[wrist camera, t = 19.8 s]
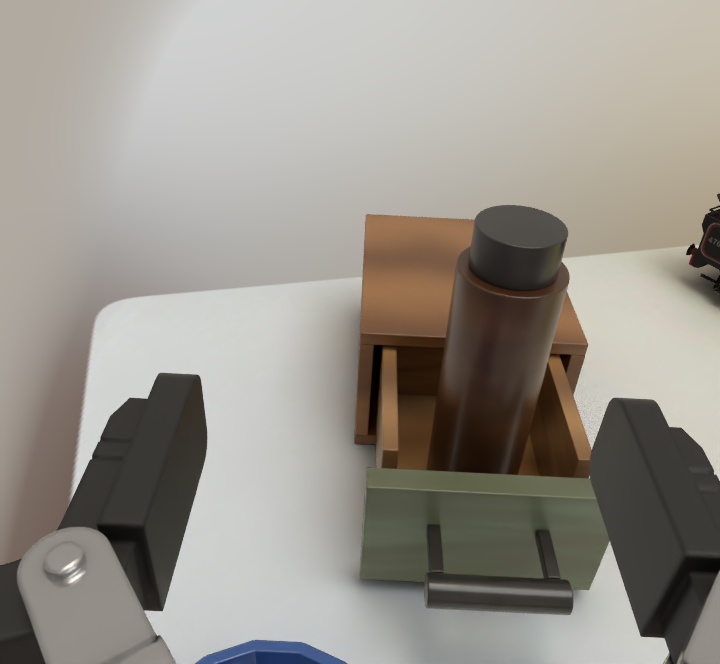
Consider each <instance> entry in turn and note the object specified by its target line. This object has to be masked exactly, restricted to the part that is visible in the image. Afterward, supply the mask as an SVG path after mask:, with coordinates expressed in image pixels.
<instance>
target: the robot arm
mask: <svg viewBox="0 0 720 664" xmlns="http://www.w3.org/2000/svg"><path fill="white" fill-rule="evenodd" d="M100 438H101V440H100V442H98V444H97V446H96V448H95V450H94V453H93V455H92V460H90V461H89V463H88V466H87V468H86V470H85V472H84V474H83V476H82V479H81V481H80V483H79V485H78V487H77V489H76V492H75V494H74V496H73V498H72V500H71V502H70V505H69V507H68V509H67V511H66V514H65V516H64V518H63V520H62V522H61V524H60V526H59V527H58V529H57V531H55V532H52V533H50V534H49V535H47V536H45V537H43V538H42V539H40V540H39V541H37V542H36V543H35V544H34V545H33V546H32V547H31V548H30V549H29V550H28V551H27V552H26V554H25V555H24V557H23V558H22V559H19V560H17V561H14V562H11V563H8V564H5V565H0V664H176V662H175V660H174V658H173V657H172V655H171V653H170V651H169V649H168V647H167V645H166V643H165V642H164V640H163V639H162V637H161V636H160V635H159V636H157V635H156V634H155V632H154V630H153V628H152V626H151V624H150V622H149V620H148V618H147V616H146V614H145V612H144V610H149V611H163V609H164V605H165V601H166V598H167V594H168V591H169V587H170V583H171V580H172V576H173V573H174V569H175V566H176V562H177V558H178V555H179V551H180V548H181V544H182V541H183V537H184V533H185V530H186V526H187V523H188V519H189V515H190V512H191V508H192V505H193V501H194V498H195V494H196V490H197V487H198V483H199V480H200V476H201V473H202V469H203V465H204V461H205V457H206V449H207V426H206V418H205V410H204V401H203V393H202V385H201V379H200V377H199V375H192V374H173V373H159V374H158V376H157V378H156V380H155V382H154V385H153V387H152V389H151V392H150V394H149V397H148V399H141V398H129V399H128V400H127V401H126V402H125V403H124V404H123V405H122V406H121V407H120V408H119V409H118V410H116V411H115V412H114V413H113V414H112V415H111V416H110V418H109V420H108V422H107V424H106V427H105V429H104V431H103V433H102V435H101V437H100ZM589 470H590V479H591V484H592V487H593V490H594V493H595V496H596V499H597V502H598V505H599V509H600V512H601V515H602V518H603V521H604V524H605V527H606V530H607V533H608V536H609V539H610V542H611V546H612V549H613V552H614V555H615V558H616V561H617V564H618V567H619V570H620V573H621V576H622V579H623V583H624V586H625V589H626V592H627V595H628V598H629V601H630V604H631V607H632V610H633V613H634V616H635V620H636V623H637V626H638V629H639V632H640V635H641V637H659V638H665V641H666V644H667V646H668V649H669V654H668V656H667V657H666V659H665V661H664V663H663V664H720V481H719V479H718V477H717V475H714V470H713V468H712V466H711V464H710V462H709V460H708V458H707V456H706V454H705V452H704V451H703V449H702V447H701V446H700V445H698V444H697V443H696V442H695V441H694V440H693V439H692V438H691V437H690V436H689V435H688V434H687V433H686V432H685V431H684V430H683V429H682V428H676V427H669V426H668V424H667V422H666V420H665V418H664V416H663V414H662V411H661V409H660V407H659V406H658V404H657V403H656V402H655V401H654V400H648V399H629V398H613V399H612V400H611V401H610V402H609V404H608V407H607V409H606V412H605V415H604V418H603V421H602V423H601V426H600V429H599V432H598V434H597V437H596V440H595V443H594V446H593V448H592V451H591V455H590V464H589Z"/></svg>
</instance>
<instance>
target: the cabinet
mask: <svg viewBox="0 0 720 664" xmlns="http://www.w3.org/2000/svg"><path fill="white" fill-rule="evenodd" d="M474 222H475V220H468V219H448V218H427V217H409V216H390V215H389V216H388V215H370V214H367V215H366V222H365V241H364V262H363V280H362V299H361V319H360V339H359V359H358V380H357V400H356V420H355V441H354V443H356V444H376V414H377V384H378V371H379V358H380V345H393V346H412V347H432V348H444V344H445V337H446V330H447V323H448V316H449V309H450V302H451V296H452V289H453V282H454V275H455V268H456V262H457V258H458V256H459V254H460V253H461V252H462V251H463V250H465V249H466V248H468V247H469V246H471V241H472V235H473V228H474ZM587 347H588V343H587V340H586V338H585V335H584V333H583V330H582V328H581V325H580V323H579V320H578V318H577V315H576V313H575V311H574V308H573V306H572V303H571V301H570V298H569V296H568V293H567V291H566V295H565V299H564V302H563V306H562V310H561V314H560V318H559V321H558V325H557V329H556V333H555V337H554V340H553V344H552V348H551V352H550V354H559V356H560V359H561V362H562V365H563V367H564V370H565V373H566V376H567V379H568V382H569V385H570V388H571V391H572V394H574V391H575V388H576V384H577V381H578V378H579V374H580V371H581V368H582V365H583V361H584V358H585V354H586V350H587Z"/></svg>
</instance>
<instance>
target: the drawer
mask: <svg viewBox="0 0 720 664" xmlns="http://www.w3.org/2000/svg"><path fill="white" fill-rule="evenodd" d="M443 351H444V348H432V347H412V346H393V345H380V358H379V371H378V384H377V414H376V468H369V467H368V468H367V473H366V487H365V501H364V516H363V530H362V545H361V559H360V579H375V580H395V581H415V582H425V584H424V599H425V606H426V608H434V609H454V610H474V611H494V612H514V613H534V614H554V615H570V614H571V612H572V609H573V592H572V589H574V590H589V589H590V586H591V584H592V582H593V579H594V577H595V574H596V572H597V570H598V567H599V565H600V562H601V560H602V558H603V555H604V553H605V550H606V548H607V546H608V543H609V541H610V539H609V536H608V533H607V530H606V527H605V524H604V521H603V518H602V515H601V512H600V509H599V505H598V502H597V499H596V496H595V493H594V490H593V487H592V484H591V479H588V478H589V476H590V470H589V464H590V455H591V451H592V450H591V447H590V444H589V441H588V438H587V435H586V432H585V429H584V427H583V424H582V421H581V418H580V415H579V412H578V409H577V406H576V403H575V400H574V397H573V394H572V391H571V388H570V385H569V382H568V379H567V376H566V373H565V370H564V367H563V365H562V362H561V359H560V356H559V354H550V356H549V359H548V363H547V367H546V371H545V374H544V378H543V382H542V386H541V390H540V393H539V397H538V401H537V405H536V409H535V412H534V416H533V420H532V424H531V428H530V431H529V435H528V439H527V443H526V446H525V450H524V454H523V458H522V462H521V465H520V469H519V473H518V475H508V474H488V473H468V472H448V471H429V470H426V468H427V461H428V454H429V447H430V440H431V433H432V426H433V419H434V413H435V406H436V399H437V392H438V385H439V378H440V371H441V364H442V358H443Z"/></svg>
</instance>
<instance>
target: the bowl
mask: <svg viewBox="0 0 720 664" xmlns="http://www.w3.org/2000/svg"><path fill="white" fill-rule="evenodd" d="M195 664H346V662H344V661H342V660H340V659H337V658H335V657H333V656H331V655H329V654H327V653H325V652H322V651H320V650H318V649H316V648H314V647H312V646H310V645H307V644H305V643H302V642H287V641H267V640H255V641H254V640H252V641H249V642H246V643H243V644H240V645H237V646H234V647H231V648H228V649H225V650H222V651H219V652H216V653H213V654H209V655H207V656H206V657H203V658H202V659H201V660H199V661H198V662H197V663H195Z"/></svg>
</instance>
